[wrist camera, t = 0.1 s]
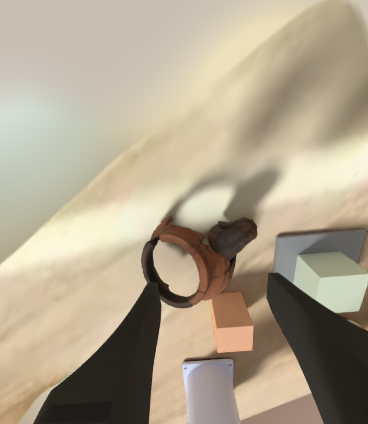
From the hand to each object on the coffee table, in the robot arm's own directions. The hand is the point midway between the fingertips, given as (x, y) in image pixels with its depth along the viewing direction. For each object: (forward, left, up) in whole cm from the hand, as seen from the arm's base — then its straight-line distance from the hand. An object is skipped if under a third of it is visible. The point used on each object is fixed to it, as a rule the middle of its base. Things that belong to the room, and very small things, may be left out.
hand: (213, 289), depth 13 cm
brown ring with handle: (-2, 0, -10) cm, 11 cm away
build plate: (-7, -14, -10) cm, 19 cm away
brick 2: (-7, -14, -10) cm, 18 cm away
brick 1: (-12, -3, -10) cm, 16 cm away
